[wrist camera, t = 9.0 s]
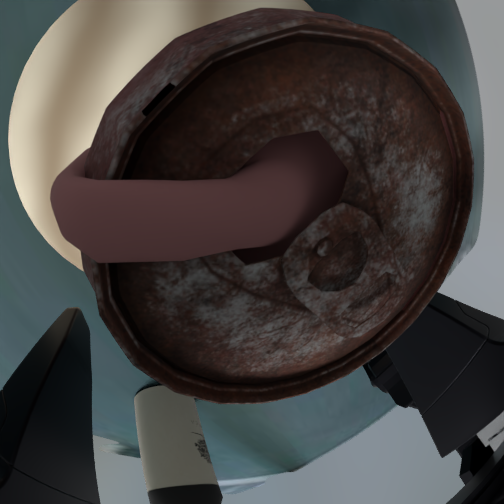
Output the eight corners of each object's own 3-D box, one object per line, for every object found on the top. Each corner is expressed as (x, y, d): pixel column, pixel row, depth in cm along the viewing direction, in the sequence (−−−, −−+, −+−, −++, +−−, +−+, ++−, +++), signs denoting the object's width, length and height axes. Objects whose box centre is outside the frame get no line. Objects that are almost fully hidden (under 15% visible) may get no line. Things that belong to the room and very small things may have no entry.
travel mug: (141, 413, 32) (164, 529, 17) (127, 385, 28) (149, 528, 13) (195, 408, 34) (230, 521, 20) (191, 379, 30) (233, 519, 16)
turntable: (359, 3, 13) (405, -7, 9) (331, 258, 25) (362, 291, 21) (24, 3, 6) (-9, -15, 2) (60, 297, 18) (47, 343, 14)
